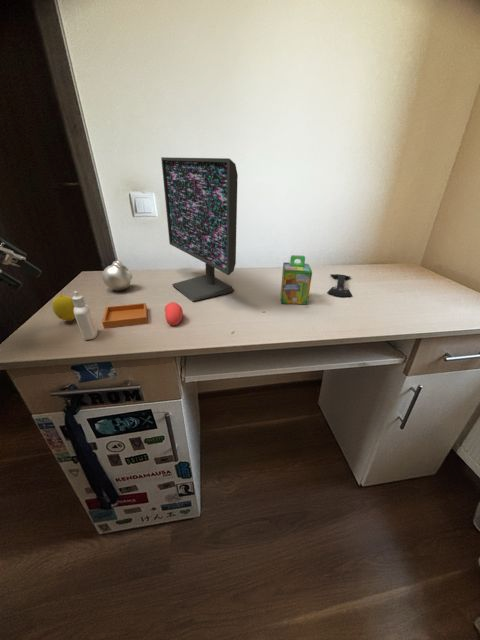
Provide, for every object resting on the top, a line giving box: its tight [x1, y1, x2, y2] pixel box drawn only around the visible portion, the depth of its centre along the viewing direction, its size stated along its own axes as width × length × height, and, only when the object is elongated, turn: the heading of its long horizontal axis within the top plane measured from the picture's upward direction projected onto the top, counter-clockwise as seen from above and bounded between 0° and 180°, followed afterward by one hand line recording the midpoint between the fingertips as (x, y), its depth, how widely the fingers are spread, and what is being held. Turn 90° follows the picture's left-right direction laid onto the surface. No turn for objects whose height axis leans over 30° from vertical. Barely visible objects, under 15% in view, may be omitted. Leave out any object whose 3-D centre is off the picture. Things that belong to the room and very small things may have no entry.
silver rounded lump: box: [101, 259, 133, 292], centre depth 98 cm, size 9×10×10 cm
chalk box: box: [280, 254, 313, 306], centre depth 95 cm, size 9×9×15 cm
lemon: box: [51, 294, 76, 322], centre depth 78 cm, size 6×6×8 cm
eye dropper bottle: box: [71, 290, 98, 341], centre depth 71 cm, size 4×6×12 cm
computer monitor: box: [160, 156, 239, 302], centre depth 92 cm, size 44×16×40 cm, turn 37°
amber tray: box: [101, 302, 148, 329], centre depth 82 cm, size 11×10×2 cm
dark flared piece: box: [327, 273, 353, 298], centre depth 111 cm, size 9×25×3 cm, turn 166°
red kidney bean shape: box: [164, 301, 184, 326], centre depth 82 cm, size 5×9×6 cm
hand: (30, 280), depth 64 cm, fingers open, 8 cm apart
